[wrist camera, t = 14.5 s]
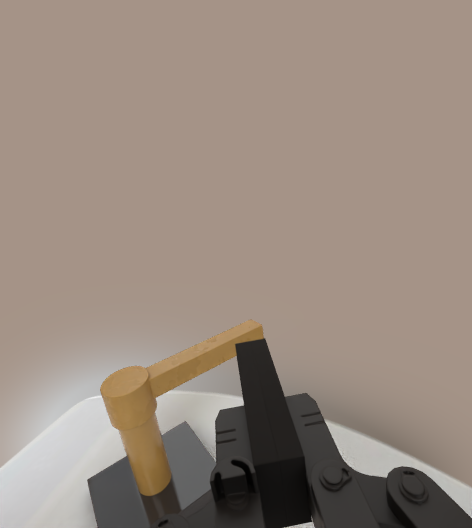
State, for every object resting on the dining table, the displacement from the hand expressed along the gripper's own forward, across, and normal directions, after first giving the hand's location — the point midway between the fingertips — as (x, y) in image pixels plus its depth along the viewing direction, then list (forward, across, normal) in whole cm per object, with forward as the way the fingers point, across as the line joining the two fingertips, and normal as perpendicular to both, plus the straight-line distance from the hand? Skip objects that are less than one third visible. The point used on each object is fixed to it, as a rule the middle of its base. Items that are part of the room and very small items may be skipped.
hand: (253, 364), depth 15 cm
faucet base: (+12, -12, -22) cm, 28 cm away
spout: (+16, -6, -13) cm, 21 cm away
